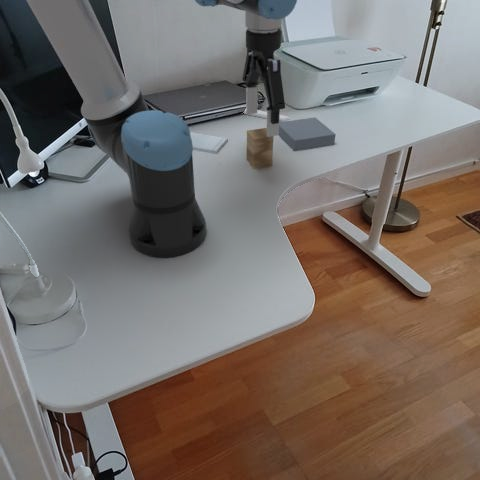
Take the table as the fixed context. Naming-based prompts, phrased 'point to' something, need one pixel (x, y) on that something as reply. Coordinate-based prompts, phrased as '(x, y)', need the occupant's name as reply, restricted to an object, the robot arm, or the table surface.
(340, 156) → the table surface
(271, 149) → the oak block
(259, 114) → the marker
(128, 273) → the table surface
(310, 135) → the grey base
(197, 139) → the hard drive
